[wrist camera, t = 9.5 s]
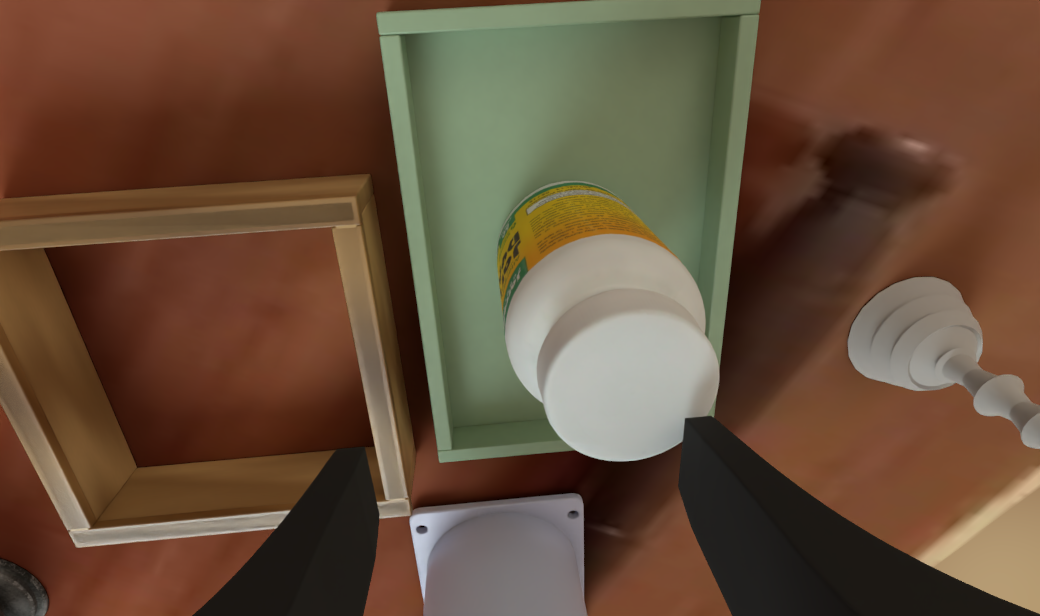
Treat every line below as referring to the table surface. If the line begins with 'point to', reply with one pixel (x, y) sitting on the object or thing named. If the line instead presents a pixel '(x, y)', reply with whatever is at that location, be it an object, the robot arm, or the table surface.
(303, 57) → the table surface
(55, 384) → the brown wooden square frame
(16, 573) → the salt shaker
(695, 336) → the supplement bottle
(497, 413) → the tray
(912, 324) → the chalice
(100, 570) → the table surface
